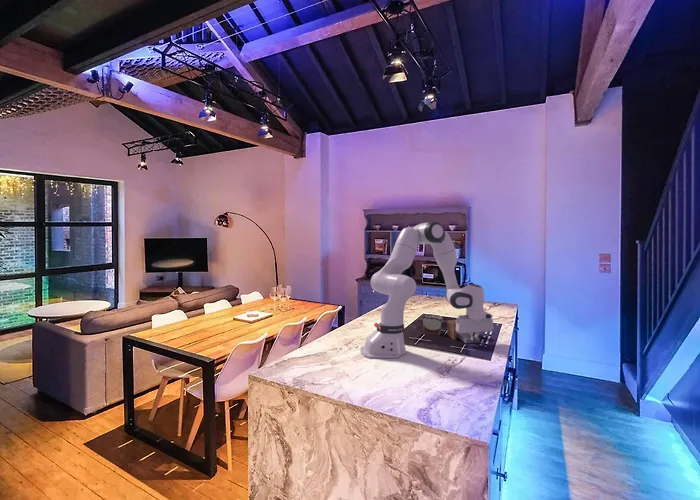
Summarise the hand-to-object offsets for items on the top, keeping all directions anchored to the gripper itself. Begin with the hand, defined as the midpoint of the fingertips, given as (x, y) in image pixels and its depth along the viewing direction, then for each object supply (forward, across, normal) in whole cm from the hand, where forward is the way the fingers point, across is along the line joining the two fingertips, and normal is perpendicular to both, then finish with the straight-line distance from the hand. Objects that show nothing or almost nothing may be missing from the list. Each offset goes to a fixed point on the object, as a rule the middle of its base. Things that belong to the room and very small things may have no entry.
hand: (473, 340), depth 193 cm
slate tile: (+2, 0, +7) cm, 7 cm away
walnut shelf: (+2, 0, +12) cm, 12 cm away
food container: (+2, -13, +22) cm, 25 cm away
